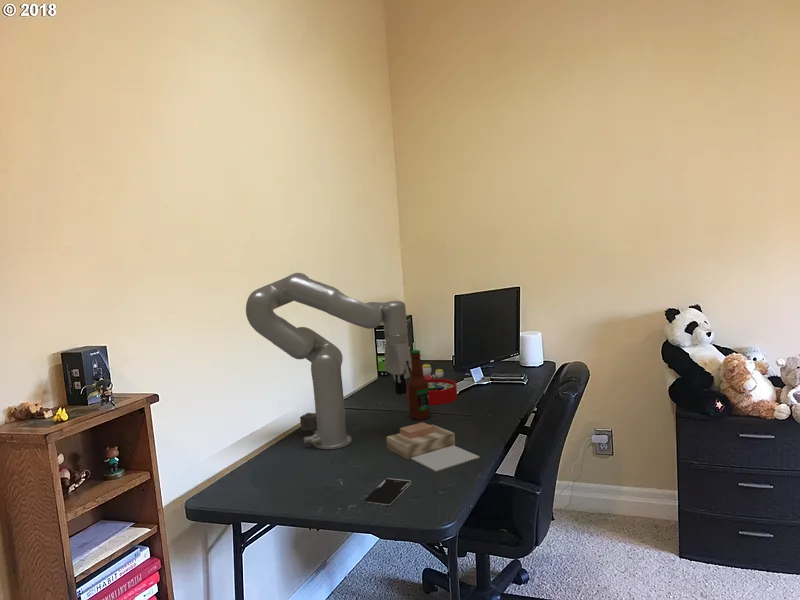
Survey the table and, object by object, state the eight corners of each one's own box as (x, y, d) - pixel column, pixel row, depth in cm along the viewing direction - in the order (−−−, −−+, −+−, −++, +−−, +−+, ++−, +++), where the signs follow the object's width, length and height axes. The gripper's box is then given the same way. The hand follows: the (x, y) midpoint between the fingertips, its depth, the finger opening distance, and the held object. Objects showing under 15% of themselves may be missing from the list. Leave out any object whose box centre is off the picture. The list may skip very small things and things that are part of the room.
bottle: (426, 421, 225) (422, 352, 222) (407, 420, 228) (403, 352, 225) (432, 414, 232) (428, 348, 229) (413, 414, 235) (409, 348, 232)
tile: (410, 439, 195) (409, 432, 195) (400, 434, 201) (399, 428, 200) (433, 432, 200) (433, 426, 200) (423, 428, 205) (422, 422, 205)
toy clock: (401, 391, 246) (413, 379, 266) (402, 406, 247) (414, 392, 266) (451, 391, 241) (460, 379, 260) (452, 406, 242) (460, 392, 261)
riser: (407, 459, 189) (406, 446, 189) (387, 448, 200) (386, 436, 199) (455, 445, 199) (454, 433, 198) (433, 436, 209) (432, 424, 208)
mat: (436, 471, 178) (436, 470, 178) (411, 459, 189) (411, 457, 189) (479, 457, 187) (479, 456, 187) (453, 446, 198) (453, 445, 198)
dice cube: (301, 430, 224) (299, 416, 224) (309, 425, 229) (307, 412, 228) (312, 431, 222) (311, 417, 222) (320, 427, 227) (319, 413, 226)
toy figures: (446, 381, 280) (445, 363, 279) (443, 384, 276) (442, 365, 275) (421, 380, 284) (420, 362, 283) (418, 383, 280) (417, 365, 279)
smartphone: (362, 501, 161) (386, 477, 174) (363, 506, 161) (387, 482, 175) (390, 504, 158) (412, 480, 171) (390, 509, 158) (412, 485, 172)
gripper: (375, 338, 209) (380, 392, 211) (399, 343, 196) (404, 400, 198) (394, 334, 213) (399, 387, 215) (418, 339, 200) (423, 395, 202)
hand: (401, 393), depth 207 cm, fingers closed
